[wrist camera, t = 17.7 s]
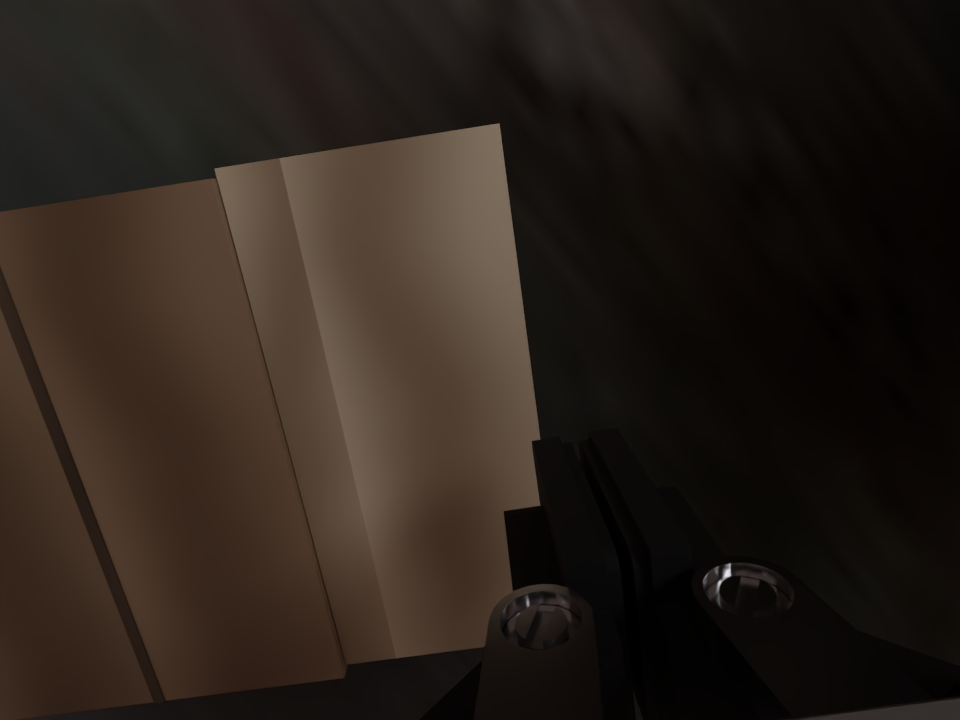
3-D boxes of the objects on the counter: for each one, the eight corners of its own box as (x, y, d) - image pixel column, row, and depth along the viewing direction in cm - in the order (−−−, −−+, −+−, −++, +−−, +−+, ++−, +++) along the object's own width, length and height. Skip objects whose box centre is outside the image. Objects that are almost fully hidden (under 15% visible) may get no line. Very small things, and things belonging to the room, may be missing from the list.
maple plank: (493, 138, 17) (499, 123, 13) (549, 553, 21) (566, 636, 17) (273, 172, 17) (214, 168, 13) (369, 577, 21) (345, 664, 17)
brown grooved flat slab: (311, 174, 17) (262, 170, 13) (401, 583, 21) (384, 674, 17) (-93, 238, 17) (-260, 252, 13) (71, 626, 21) (-21, 726, 17)
